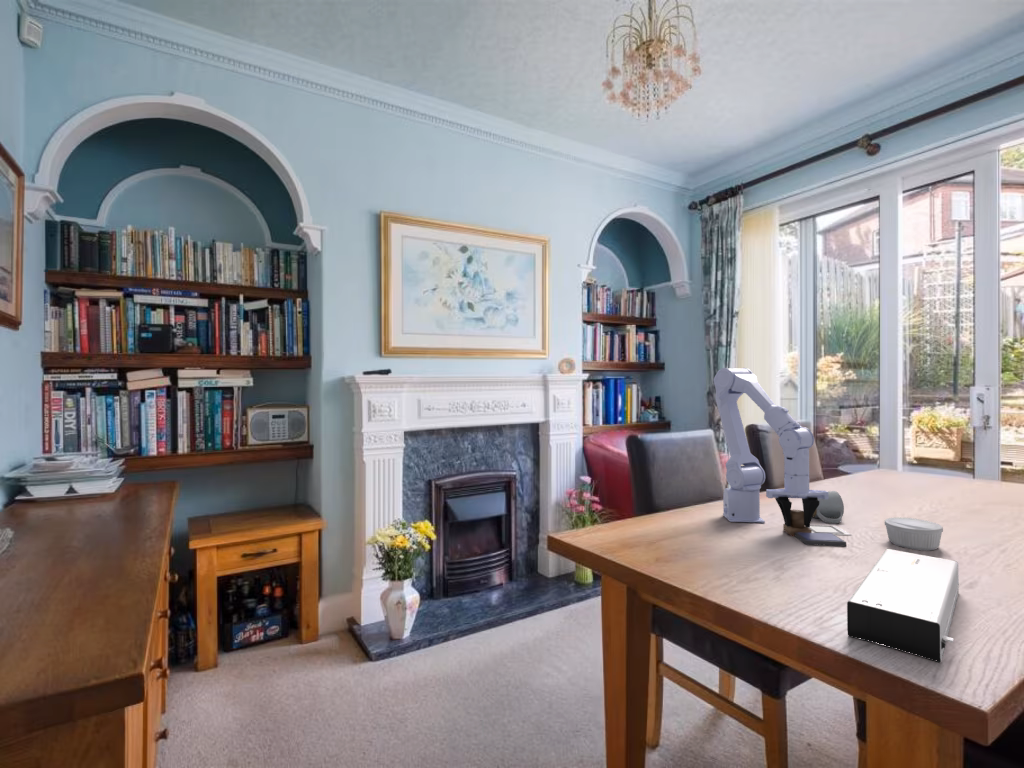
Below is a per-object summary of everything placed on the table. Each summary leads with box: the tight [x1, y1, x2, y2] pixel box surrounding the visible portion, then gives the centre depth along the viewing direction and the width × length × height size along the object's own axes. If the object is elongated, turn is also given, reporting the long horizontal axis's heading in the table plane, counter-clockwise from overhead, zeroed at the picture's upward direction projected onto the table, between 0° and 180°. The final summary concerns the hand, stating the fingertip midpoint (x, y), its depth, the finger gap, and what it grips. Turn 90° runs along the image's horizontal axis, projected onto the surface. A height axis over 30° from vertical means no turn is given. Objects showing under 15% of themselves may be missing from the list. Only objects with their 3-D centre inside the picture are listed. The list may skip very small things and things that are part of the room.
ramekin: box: [884, 516, 944, 551], centre depth 124 cm, size 11×11×5 cm
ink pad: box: [794, 532, 847, 547], centre depth 127 cm, size 9×7×1 cm
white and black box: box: [846, 548, 960, 663], centre depth 88 cm, size 34×12×6 cm, turn 136°
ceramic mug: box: [812, 490, 845, 524], centre depth 147 cm, size 11×8×8 cm
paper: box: [808, 524, 852, 536], centre depth 136 cm, size 10×8×1 cm
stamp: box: [782, 509, 812, 537], centre depth 134 cm, size 5×5×6 cm
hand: (797, 525), depth 134 cm, fingers open, 4 cm apart
